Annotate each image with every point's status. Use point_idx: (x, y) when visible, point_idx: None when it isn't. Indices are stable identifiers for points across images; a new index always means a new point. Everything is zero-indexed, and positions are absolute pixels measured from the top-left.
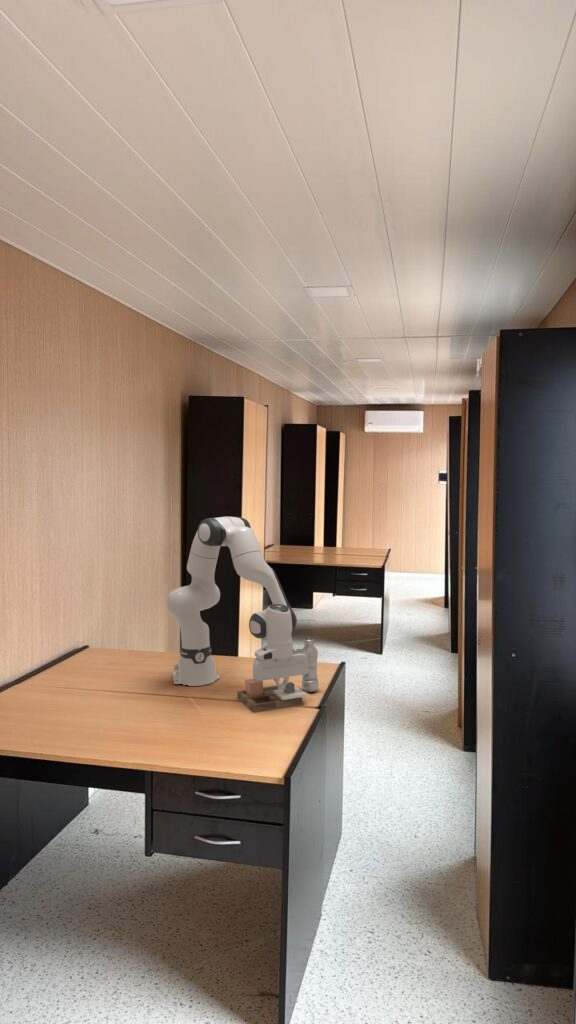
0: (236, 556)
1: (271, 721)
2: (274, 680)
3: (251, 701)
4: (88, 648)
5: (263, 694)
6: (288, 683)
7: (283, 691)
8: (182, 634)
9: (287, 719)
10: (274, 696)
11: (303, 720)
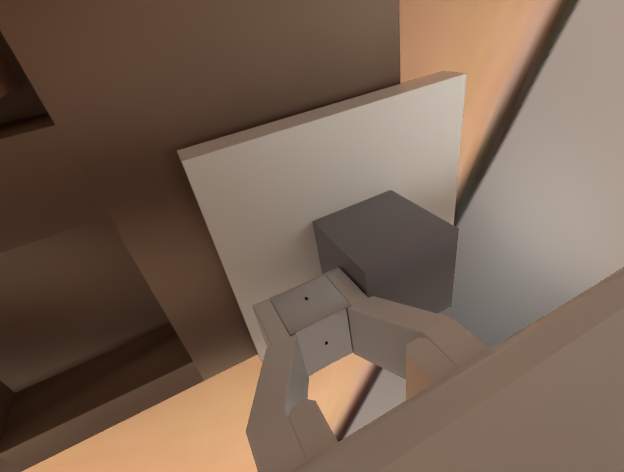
0: None
1: (158, 455)
2: (253, 442)
3: None
4: None
5: (13, 147)
6: (411, 282)
7: (308, 221)
8: None
9: (250, 411)
10: (192, 243)
11: (320, 404)
